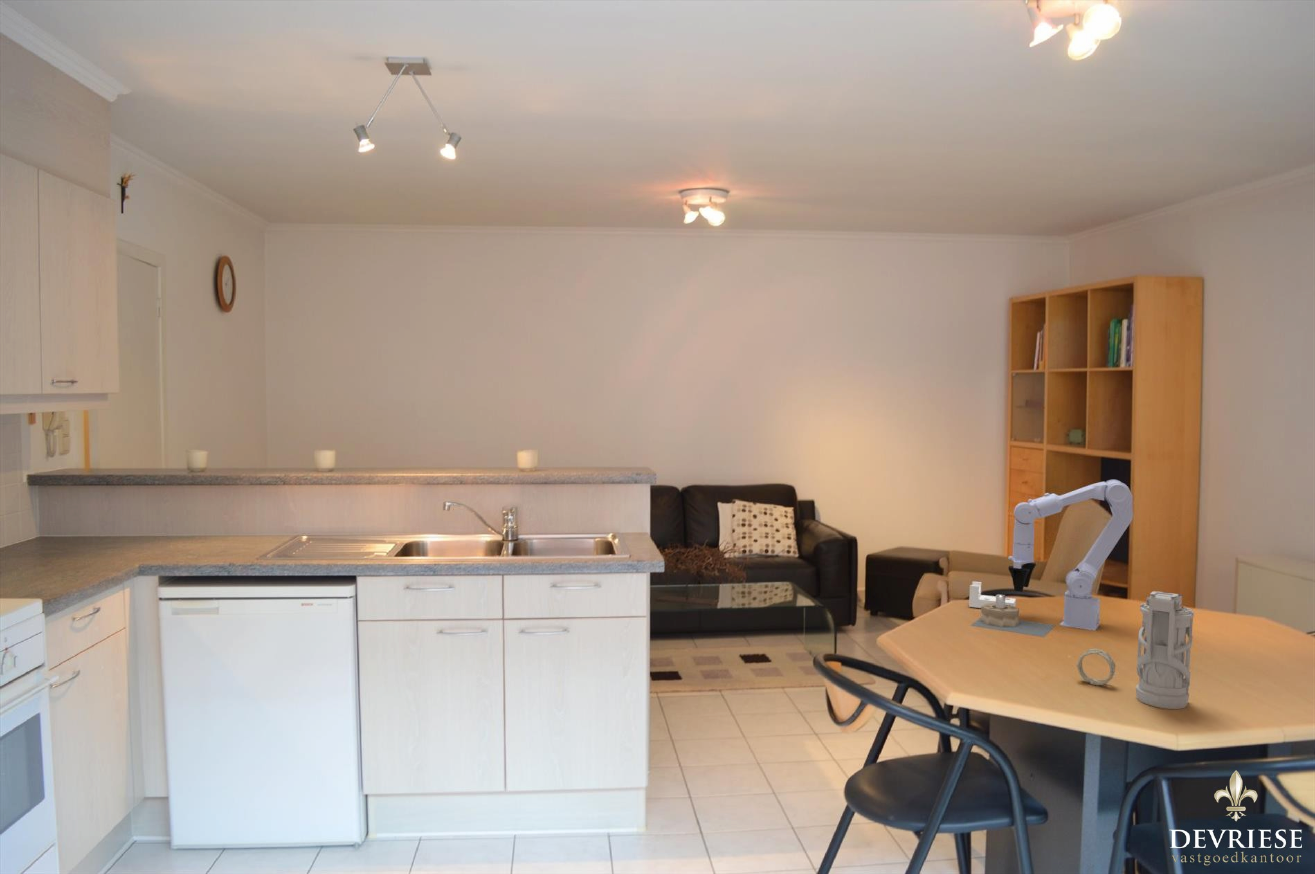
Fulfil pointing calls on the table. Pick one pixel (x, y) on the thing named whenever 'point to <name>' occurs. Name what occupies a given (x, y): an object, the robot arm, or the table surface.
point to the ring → (999, 615)
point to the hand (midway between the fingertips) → (1021, 588)
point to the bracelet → (1105, 656)
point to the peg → (1000, 601)
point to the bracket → (984, 597)
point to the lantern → (1164, 651)
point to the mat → (1020, 627)
